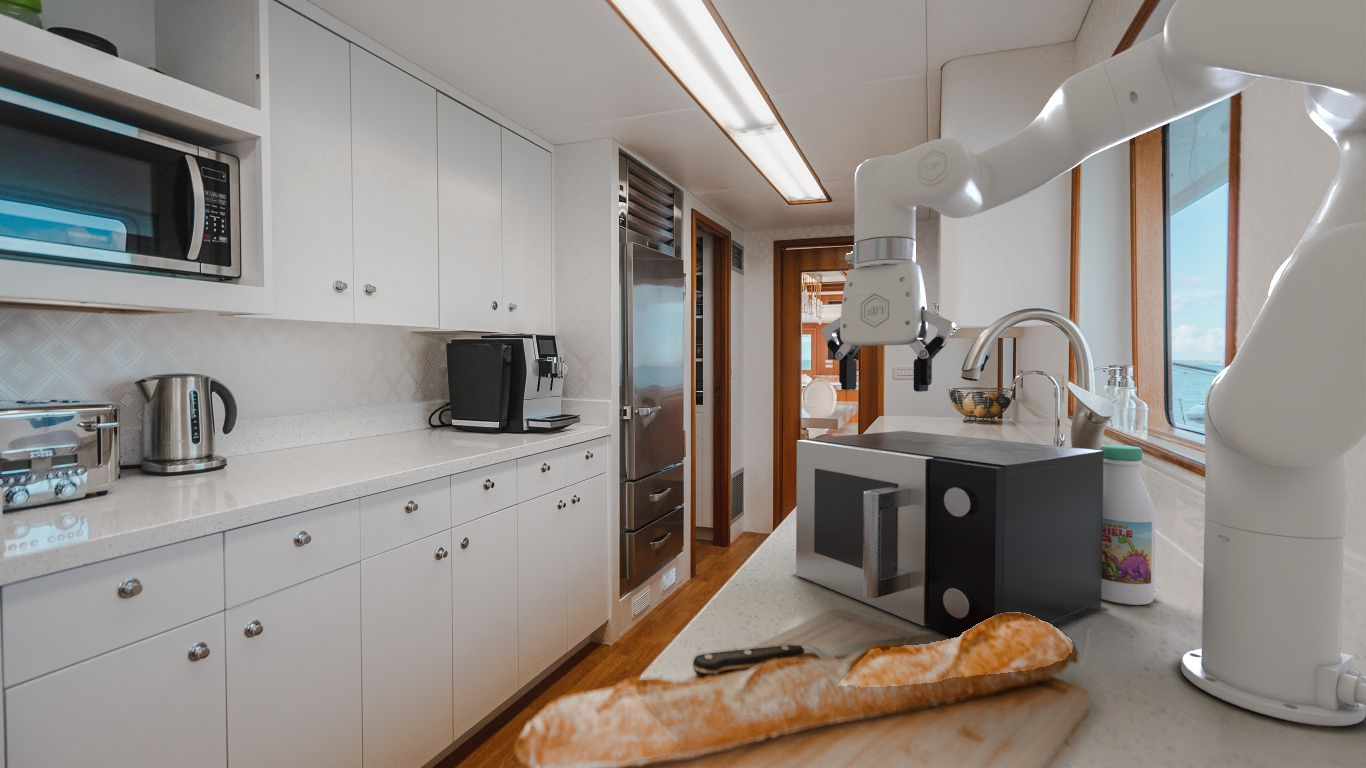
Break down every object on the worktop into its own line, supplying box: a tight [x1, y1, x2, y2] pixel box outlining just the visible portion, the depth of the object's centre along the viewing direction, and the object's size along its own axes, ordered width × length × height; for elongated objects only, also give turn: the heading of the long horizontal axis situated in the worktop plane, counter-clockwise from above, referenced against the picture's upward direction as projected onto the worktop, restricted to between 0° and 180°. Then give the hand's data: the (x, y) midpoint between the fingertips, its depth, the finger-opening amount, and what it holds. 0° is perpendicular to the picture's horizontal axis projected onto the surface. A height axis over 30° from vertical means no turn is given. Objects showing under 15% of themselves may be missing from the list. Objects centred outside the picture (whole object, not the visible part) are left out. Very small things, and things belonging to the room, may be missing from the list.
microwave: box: [805, 430, 1104, 639], centre depth 85 cm, size 24×30×20 cm
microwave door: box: [795, 439, 934, 627], centre depth 80 cm, size 8×22×20 cm, turn 33°
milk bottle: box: [1099, 444, 1157, 606], centre depth 83 cm, size 8×8×20 cm
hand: (883, 390), depth 81 cm, fingers open, 9 cm apart
